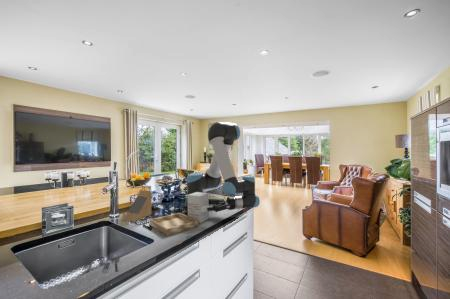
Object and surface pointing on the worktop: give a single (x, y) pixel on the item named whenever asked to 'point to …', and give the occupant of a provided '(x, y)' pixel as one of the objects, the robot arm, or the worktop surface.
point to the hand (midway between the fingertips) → (198, 206)
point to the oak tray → (173, 223)
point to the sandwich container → (140, 207)
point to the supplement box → (198, 206)
